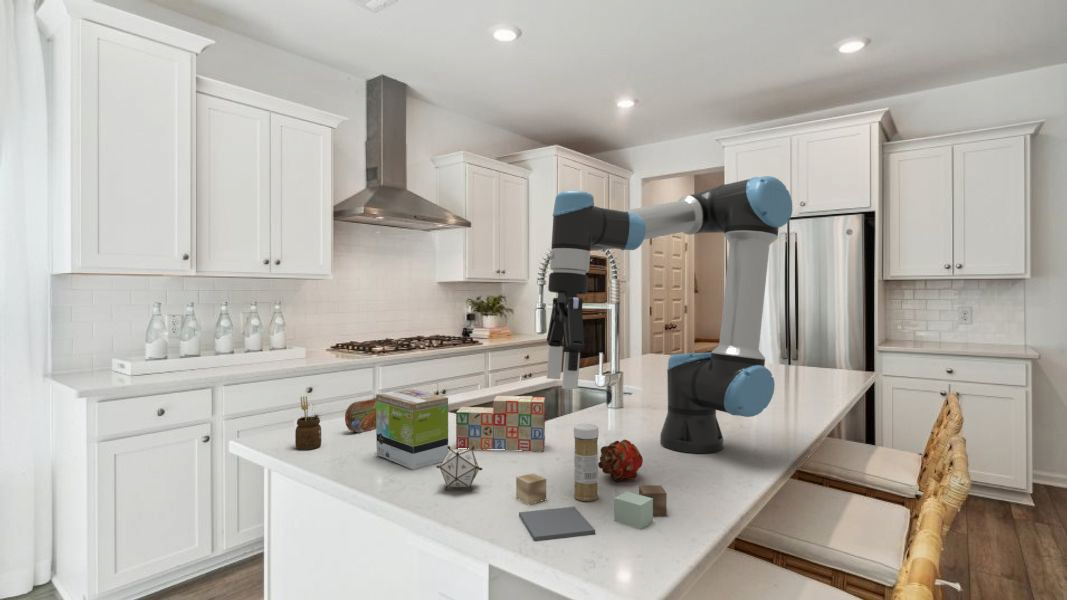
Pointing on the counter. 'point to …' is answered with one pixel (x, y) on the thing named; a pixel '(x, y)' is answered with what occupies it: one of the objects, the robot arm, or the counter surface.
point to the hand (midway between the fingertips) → (561, 383)
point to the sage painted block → (633, 510)
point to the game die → (459, 468)
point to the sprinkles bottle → (586, 462)
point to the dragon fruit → (620, 460)
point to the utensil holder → (307, 430)
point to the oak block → (530, 488)
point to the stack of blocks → (503, 424)
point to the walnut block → (655, 498)
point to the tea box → (412, 428)
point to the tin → (361, 416)
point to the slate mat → (556, 523)
